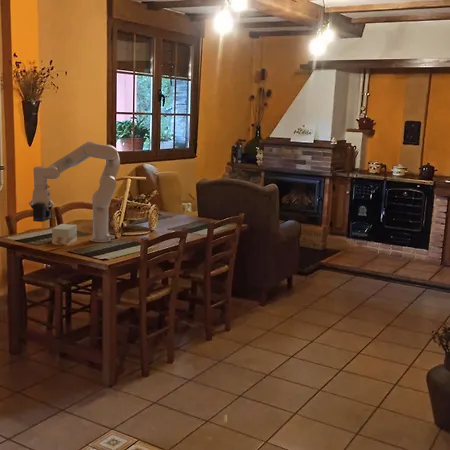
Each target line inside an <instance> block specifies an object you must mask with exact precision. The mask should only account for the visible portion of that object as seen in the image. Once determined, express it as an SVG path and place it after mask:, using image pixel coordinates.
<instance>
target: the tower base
mask: <svg viewBox="0 0 450 450" xmlns="http://www.w3.org/2000/svg"><path fill="white" fill-rule="evenodd" d="M77 234H78V232H77V233H76V234H74V235H72V236H71V237H69V238H65V237H51V244H52V245H56V246H57V245H58V246H69V245H71V244H73V243H74V242H77V240H78V235H77Z"/></svg>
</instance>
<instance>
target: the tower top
mask: <svg viewBox="0 0 450 450" xmlns="http://www.w3.org/2000/svg"><path fill="white" fill-rule="evenodd" d="M77 226H78V225H77V224H67V223H60V224H58V225H56V226H54V227H53V228H52V229H51V231H52V232H51V236H52V237H65V238H69V237H71V236H72V235H74V234H76V233H77V234H78V227H77ZM52 237H51V238H52Z"/></svg>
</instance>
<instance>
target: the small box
mask: <svg viewBox="0 0 450 450" xmlns="http://www.w3.org/2000/svg"><path fill="white" fill-rule="evenodd" d="M32 204H33V203H32ZM48 205H49V204H48ZM50 206H51V205H49V207H50ZM46 211H47V209H46V206H45V204H33V209H32V218H33V219H32V220H33V222H39V223H43V222H46V221H49V220H51V218H52V216H51V213H50V216H49V217H46Z"/></svg>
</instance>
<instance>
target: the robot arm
mask: <svg viewBox="0 0 450 450" xmlns="http://www.w3.org/2000/svg"><path fill="white" fill-rule="evenodd" d="M89 158H94V159H100V160H105V165H104V169H103V171H102V172H101V176H100V178H99V181H98V183H99V186H98V189H97V190H96V191H95V192H94V193H93V194H92V197H91V199H92V200H91V201H92V204H91V205H92V236H91V237H90V239H89V240H90V241H91V242H93V243H107V242H111V241H112V240H111V239H115V237H116V236H115V235H114V234H110V232H109V205H110V204H111V201H112V198H113V196H114V195H115V191H116V188H117V176H118V172H119V169H120V166H121V157H120V154H119V152H118V149H117V148H116V147H115V146H113V145H112V144H100V143H96V142H94V141H86V142H85V143H83V144H82V145H80V146H79V147H77V148H75V149H74V150H72V151H71V152H69V153H67V154H66V155H64V156H62V157H61V158H59V159H58V160H56V161H55V162H53V163H52V164H50V165H49V166H47V167H46V166H41V165H38V166H33V170H32V171H33V189H32V195H31V196H32V199H31V201H29V202H28V206H30V207H31V209H32V210H33V204H45V206H46V209H47V211H46V217H49V216H50V214H51V210H52V209H53V207H54V206H55V203H54V202H53V201H52V199H51V198H52V197H51V193H50V190H49V189H50V185H48V180H57V179H59V177H60V175H61V174H62V173H64V172H65V171H66V170H68V169H70V168H74V167H76V166H79V165H80V164H82V163H84V162H85V161H87V160H89ZM48 204H49V205H50V207H49V205H48Z"/></svg>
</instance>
